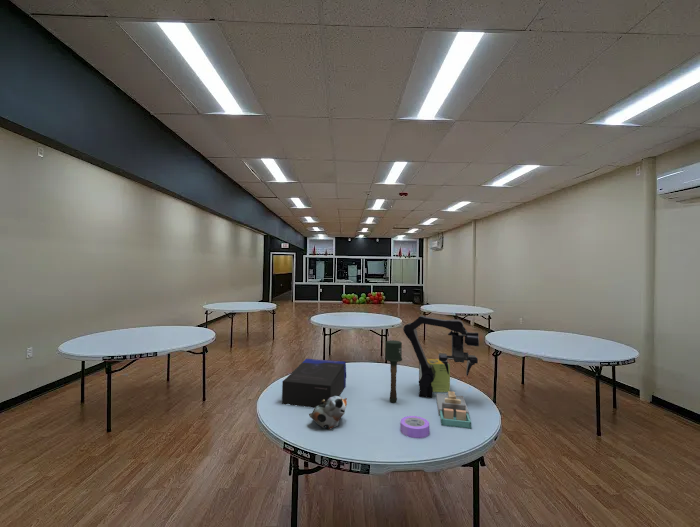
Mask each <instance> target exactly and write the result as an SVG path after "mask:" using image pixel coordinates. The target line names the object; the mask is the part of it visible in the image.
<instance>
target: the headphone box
mask: <svg viewBox="0 0 700 527" xmlns="http://www.w3.org/2000/svg"><path fill="white" fill-rule="evenodd" d="M346 380H347V364H346V361H342V360H341V361H339V360H326V359H316V358H315V359H313V358H305V359H304V361H302V362H301V364H299V365H298V366H297V367H296V368H295V369H294V370H293V371H292V372H291V373H290V374H288V376H287V377H286V378H285V379H284V380H282V382H281V383H282V385H281V389H282V390H281V391H282V392H281V393H282V394H281V404H282V405H286V404H290V405H289V406H295V405H297V407H304V406H305V408H313V409H314V408H315V407H316V406H318V405H320V404H321V401H322V400H323V399H324V400H325V402H327V400H328V399H329V398H330V397H333V396H339V397H341V394H342V393H343V391H344V390H345V388H346V387H347V386H346V385H347V383H346V382H347V381H346Z"/></svg>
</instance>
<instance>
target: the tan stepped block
mask: <svg viewBox="0 0 700 527" xmlns="http://www.w3.org/2000/svg"><path fill="white" fill-rule="evenodd" d="M447 395H448V398H445V403H444V402H442V410H444V408H447V409H453V411H456V410H465V411H466V406H467V404H466V405H464V404H461V400H459V399H456V393H455V391H451V390H450V391H448V392H447Z"/></svg>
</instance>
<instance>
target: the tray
mask: <svg viewBox="0 0 700 527" xmlns="http://www.w3.org/2000/svg"><path fill="white" fill-rule="evenodd" d="M439 418H440V424H441V426H444V427H451V428H453V427H454V428H460V429H461V428H463V429H471V430H472V420H471V419H470V418H471V417H470V414H469V415H468V413H466V421H461V420H456V417H453V420H452V419H444V416H443V415H442V411H440V416H439Z"/></svg>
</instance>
